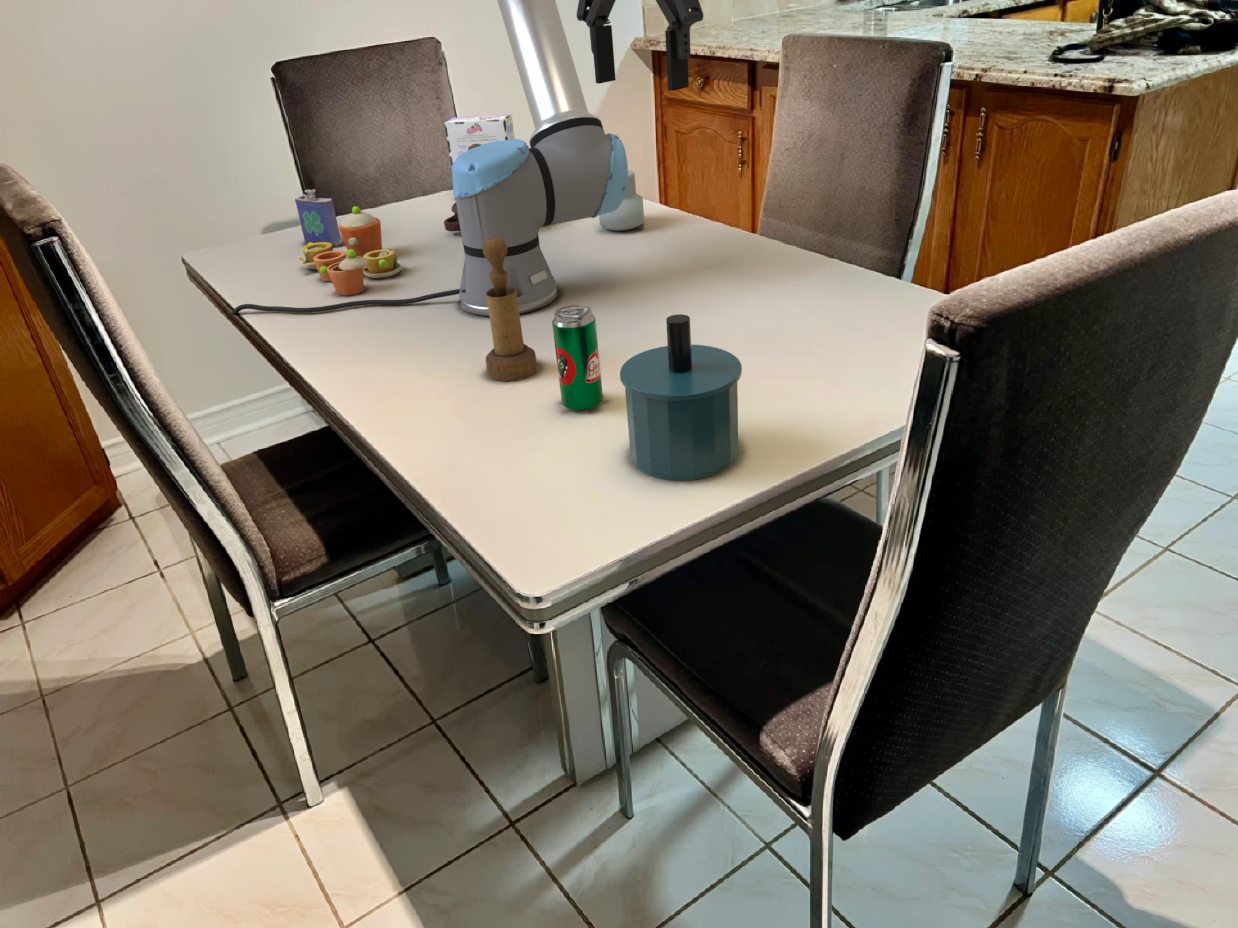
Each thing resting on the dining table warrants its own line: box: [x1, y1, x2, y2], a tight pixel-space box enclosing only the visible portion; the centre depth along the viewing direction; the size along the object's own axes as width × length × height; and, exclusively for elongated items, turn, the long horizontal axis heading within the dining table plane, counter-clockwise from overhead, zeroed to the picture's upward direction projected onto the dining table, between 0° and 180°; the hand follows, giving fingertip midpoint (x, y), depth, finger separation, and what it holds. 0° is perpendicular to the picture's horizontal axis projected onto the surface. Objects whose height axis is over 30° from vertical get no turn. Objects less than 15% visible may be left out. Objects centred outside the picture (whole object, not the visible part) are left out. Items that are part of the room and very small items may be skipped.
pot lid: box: [619, 313, 743, 401], centre depth 96 cm, size 13×13×7 cm
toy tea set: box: [297, 205, 402, 296], centre depth 165 cm, size 26×16×10 cm, turn 29°
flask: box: [294, 188, 343, 248], centre depth 182 cm, size 9×3×11 cm, turn 61°
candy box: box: [443, 114, 516, 168], centre depth 205 cm, size 14×6×16 cm, turn 79°
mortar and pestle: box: [483, 237, 538, 382], centre depth 120 cm, size 7×6×18 cm
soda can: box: [551, 304, 604, 413], centre depth 112 cm, size 5×5×12 cm
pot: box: [624, 382, 739, 482], centre depth 100 cm, size 12×12×10 cm
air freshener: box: [598, 170, 645, 232], centre depth 177 cm, size 11×8×10 cm
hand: (640, 85), depth 117 cm, fingers open, 13 cm apart
